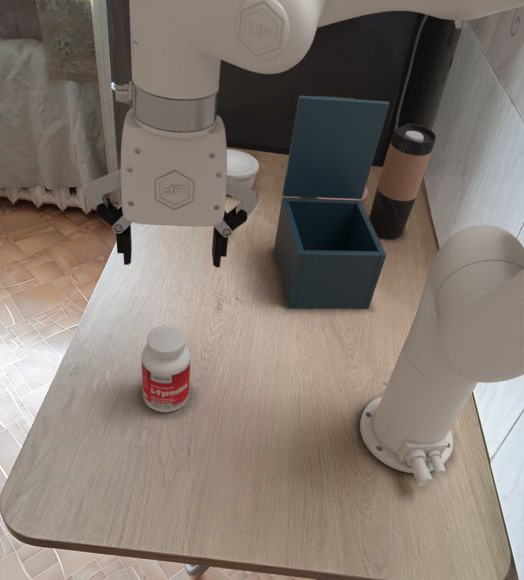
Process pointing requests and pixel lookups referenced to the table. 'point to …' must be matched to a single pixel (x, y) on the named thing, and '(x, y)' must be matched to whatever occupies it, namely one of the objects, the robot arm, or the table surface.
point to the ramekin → (241, 167)
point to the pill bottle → (165, 369)
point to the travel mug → (401, 179)
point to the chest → (327, 253)
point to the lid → (333, 146)
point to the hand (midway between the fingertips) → (172, 258)
